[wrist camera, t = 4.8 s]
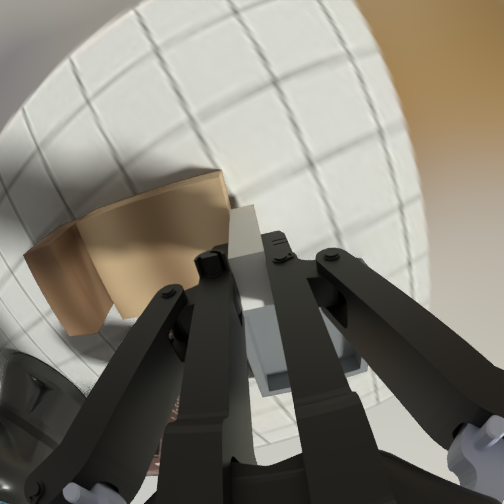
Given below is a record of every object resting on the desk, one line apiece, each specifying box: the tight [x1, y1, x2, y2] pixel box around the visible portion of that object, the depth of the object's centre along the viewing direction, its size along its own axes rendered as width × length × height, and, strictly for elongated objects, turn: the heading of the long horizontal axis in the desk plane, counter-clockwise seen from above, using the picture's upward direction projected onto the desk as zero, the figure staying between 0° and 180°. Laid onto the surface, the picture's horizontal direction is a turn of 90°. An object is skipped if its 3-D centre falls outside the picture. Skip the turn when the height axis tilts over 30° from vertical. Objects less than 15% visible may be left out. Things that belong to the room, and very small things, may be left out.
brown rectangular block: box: [23, 217, 113, 336], centre depth 17 cm, size 3×7×5 cm, turn 13°
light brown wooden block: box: [76, 170, 232, 319], centre depth 18 cm, size 10×8×3 cm
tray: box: [241, 259, 368, 397], centre depth 22 cm, size 11×12×2 cm
